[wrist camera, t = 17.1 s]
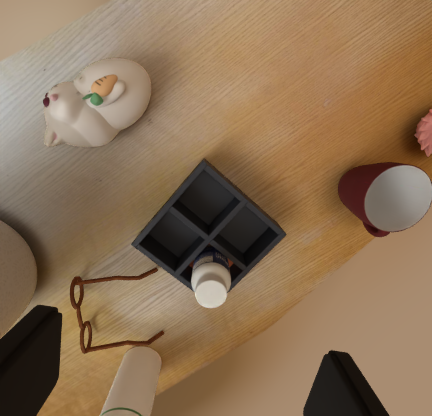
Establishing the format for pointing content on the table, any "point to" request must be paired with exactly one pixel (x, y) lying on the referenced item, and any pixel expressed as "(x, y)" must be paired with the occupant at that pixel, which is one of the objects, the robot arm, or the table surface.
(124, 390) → the cylindrical container
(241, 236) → the divided storage tray
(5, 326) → the planter
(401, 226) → the mug
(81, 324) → the glasses
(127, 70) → the white animal figurine
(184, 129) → the table surface
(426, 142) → the flower
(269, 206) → the table surface
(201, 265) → the pill bottle
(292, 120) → the table surface
